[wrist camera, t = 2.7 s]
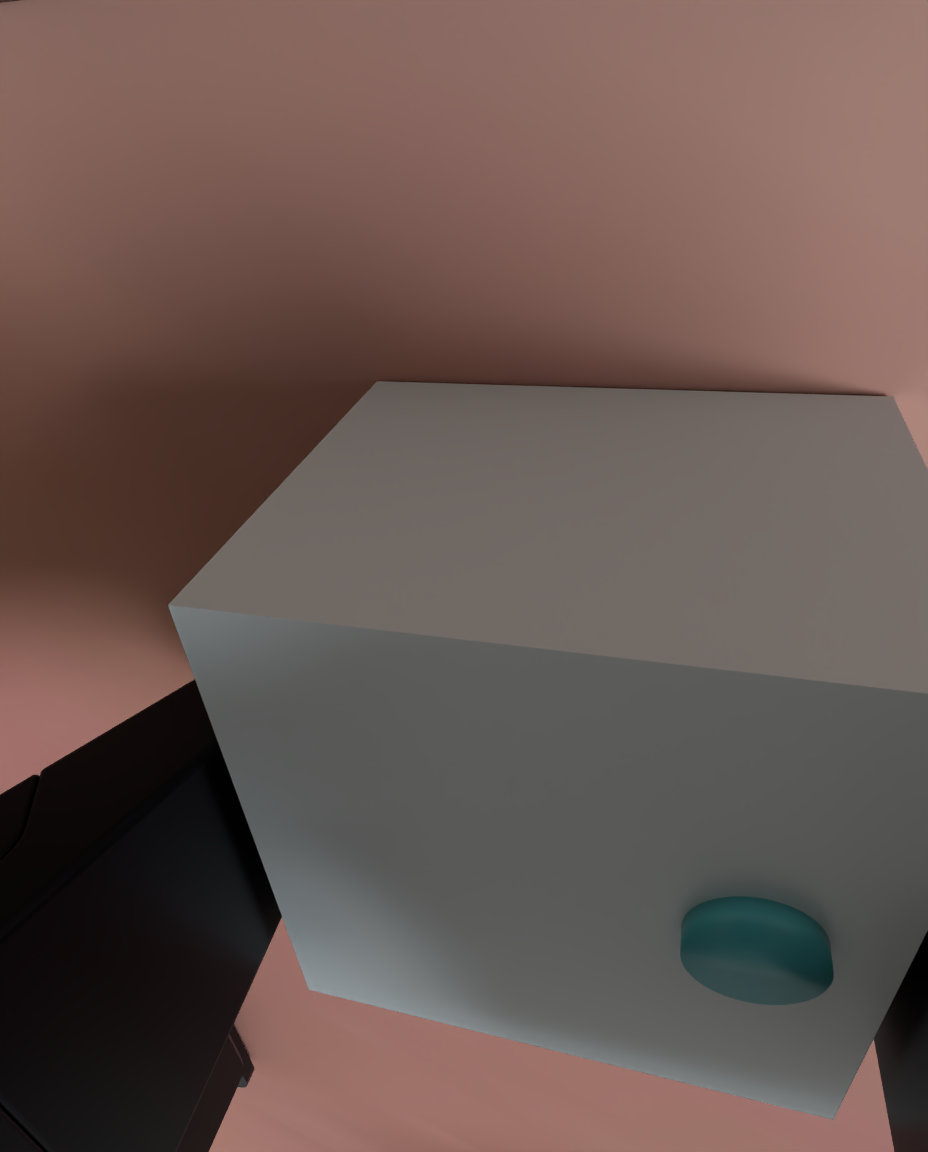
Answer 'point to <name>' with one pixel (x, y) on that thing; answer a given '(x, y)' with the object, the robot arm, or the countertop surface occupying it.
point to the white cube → (592, 720)
